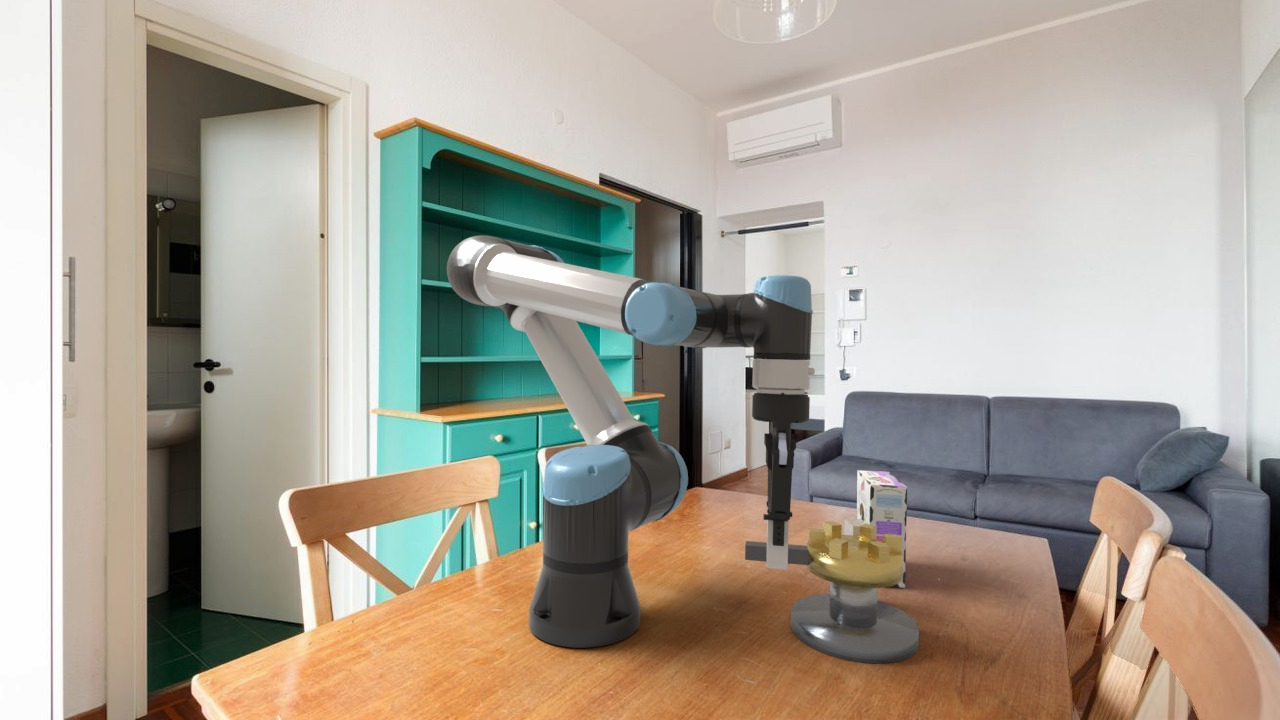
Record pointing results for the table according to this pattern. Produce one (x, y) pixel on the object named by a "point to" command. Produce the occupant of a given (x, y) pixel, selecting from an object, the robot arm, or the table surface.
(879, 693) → the table surface
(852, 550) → the gold studded disc
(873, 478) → the candy box
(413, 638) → the table surface
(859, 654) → the nut base
